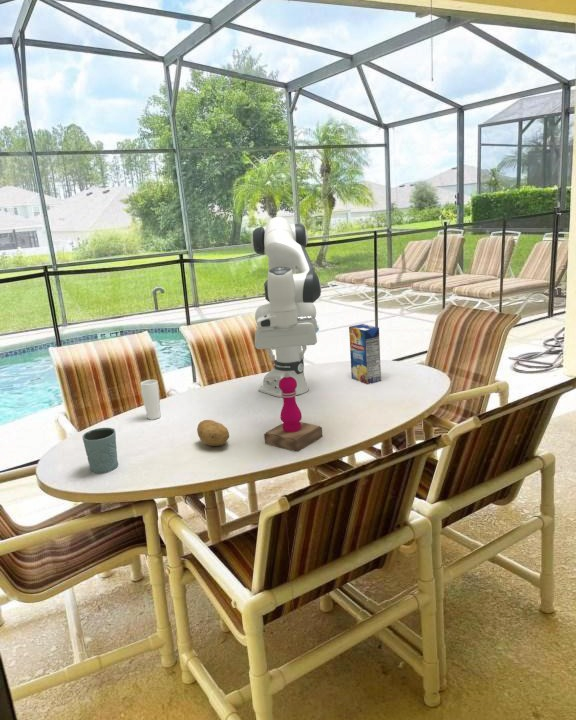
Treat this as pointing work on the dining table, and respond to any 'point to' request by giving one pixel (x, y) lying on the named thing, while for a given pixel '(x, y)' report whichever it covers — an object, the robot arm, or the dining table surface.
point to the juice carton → (365, 353)
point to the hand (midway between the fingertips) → (287, 359)
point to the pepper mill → (289, 404)
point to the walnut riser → (293, 437)
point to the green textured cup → (101, 450)
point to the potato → (212, 433)
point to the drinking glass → (151, 398)
